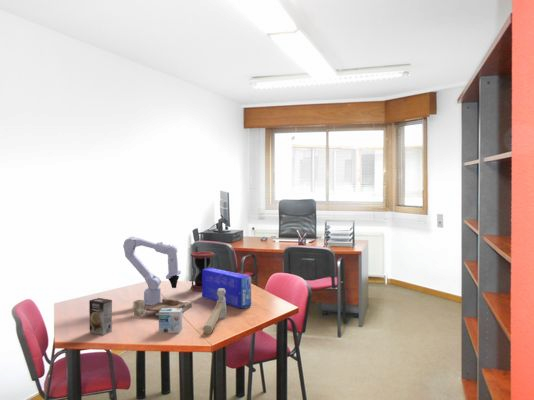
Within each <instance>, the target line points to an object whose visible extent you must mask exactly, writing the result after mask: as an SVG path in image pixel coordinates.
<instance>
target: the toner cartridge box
mask: <svg viewBox="0 0 534 400" xmlns="http://www.w3.org/2000/svg"><path fill="white" fill-rule="evenodd" d="M219 288H224V289H225V291H226V293H225V295H224V296H225V298H226V305H228V306H232V307H235V308H239V309H245V308H249V307H251V306H252V276H251V275H246V274H243V273H236V272H232V271H228V270H224V269H218V268H214V267H212V268H210V267H207V268H206V269H203V270H202V291H201V297H202V298H205V299H208V300H211V301H215V302H217V301H218V299H219V296H218V295H217V290H218V289H219Z"/></svg>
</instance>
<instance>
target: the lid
mask: <svg viewBox="0 0 534 400" xmlns="http://www.w3.org/2000/svg"><path fill="white" fill-rule="evenodd" d="M161 301H162V302H158V303H156V304H154V305H149V307H146V308H145V311H146V312H155V313H156V312H159V311H160V310H161V309H162V308H183V307H184V306H185V304H179V301H180V300H179V299H171V298H170V299H169V298H161Z"/></svg>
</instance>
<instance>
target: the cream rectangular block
mask: <svg viewBox="0 0 534 400" xmlns="http://www.w3.org/2000/svg"><path fill="white" fill-rule="evenodd" d="M144 314H145V304H144V299H136V300H133V317H142V316H144Z"/></svg>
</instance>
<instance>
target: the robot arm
mask: <svg viewBox="0 0 534 400" xmlns="http://www.w3.org/2000/svg"><path fill="white" fill-rule="evenodd" d="M141 246H142V247H145V248H149V249H154V250H155V252H157V253H160V254H163V255H167V265H168V266H167V267H168V268H167V269H168V273H167V275H165V279H166V280H168V281H169V282H170V285H171V289H176V288H177V285H178V281H179V279H180V275H181V270H179V266H178V265H179V264H178V248H177V247H176V246H175V245H171V244H165V243H164V242H163V241H160V242H157V243H155V242H152V241H149V240H146V239H144V238H139V237H135V236H130V237H128V238H126V239H125V240H124V241H123V250H124V255H125V258H126V259H127V260H128V261H129V262H130V264H132V266H133V267H134V268H135V269H136V270H137V272H138V273H139V274H140V275H141V276H142V278H144V280H145V281H144V282H145V283H146V284H147V287H148V288H146V289H145V290H144V291H143V300H144V305H149V306H152V305H154V304H156V303H158V302H162V298H161V296H162V295H161V286H160V284H161V283H162V282H161V278H160V277H158V276H156V275H155V273H152V272H151V271H150V270H149V269H148V267H147V266H146V265H145V263H143V261H142V260H140V258H139V257H138V256H137V255H136V254H135V251H136V248H137V247H141Z"/></svg>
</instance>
